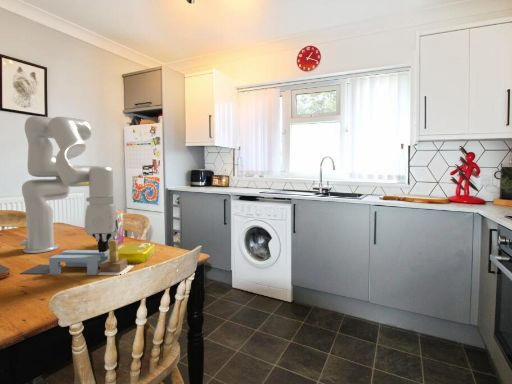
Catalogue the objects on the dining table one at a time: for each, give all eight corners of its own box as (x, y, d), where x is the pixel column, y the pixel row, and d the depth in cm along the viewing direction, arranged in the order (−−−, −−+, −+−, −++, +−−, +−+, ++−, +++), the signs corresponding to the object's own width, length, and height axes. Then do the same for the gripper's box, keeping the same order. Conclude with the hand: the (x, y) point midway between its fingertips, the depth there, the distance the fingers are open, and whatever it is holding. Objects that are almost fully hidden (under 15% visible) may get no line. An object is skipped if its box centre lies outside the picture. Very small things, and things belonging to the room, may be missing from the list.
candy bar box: (115, 247, 134) (114, 212, 132) (104, 247, 133) (102, 212, 132) (124, 241, 145) (123, 209, 144) (113, 241, 145) (112, 209, 143)
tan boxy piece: (100, 271, 102) (99, 242, 101) (108, 266, 107) (107, 238, 106) (120, 272, 102) (119, 242, 101) (127, 266, 107) (126, 238, 106)
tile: (97, 274, 100) (97, 273, 100) (110, 266, 109) (110, 265, 109) (123, 275, 100) (123, 274, 100) (134, 266, 109) (134, 265, 109)
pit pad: (20, 273, 100) (20, 273, 100) (39, 265, 109) (39, 264, 109) (46, 274, 100) (45, 273, 100) (63, 265, 109) (63, 264, 109)
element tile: (121, 252, 127) (121, 242, 127) (156, 252, 128) (155, 242, 128) (106, 264, 112) (105, 252, 112) (145, 263, 113) (145, 252, 113)
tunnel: (49, 274, 100) (49, 257, 99) (67, 265, 109) (66, 249, 108) (95, 275, 100) (95, 258, 99) (109, 265, 109) (109, 250, 109)
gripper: (74, 202, 98) (76, 254, 100) (117, 202, 98) (118, 255, 100) (87, 199, 106) (88, 248, 107) (127, 200, 106) (128, 248, 107)
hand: (103, 251), depth 104 cm, fingers closed
